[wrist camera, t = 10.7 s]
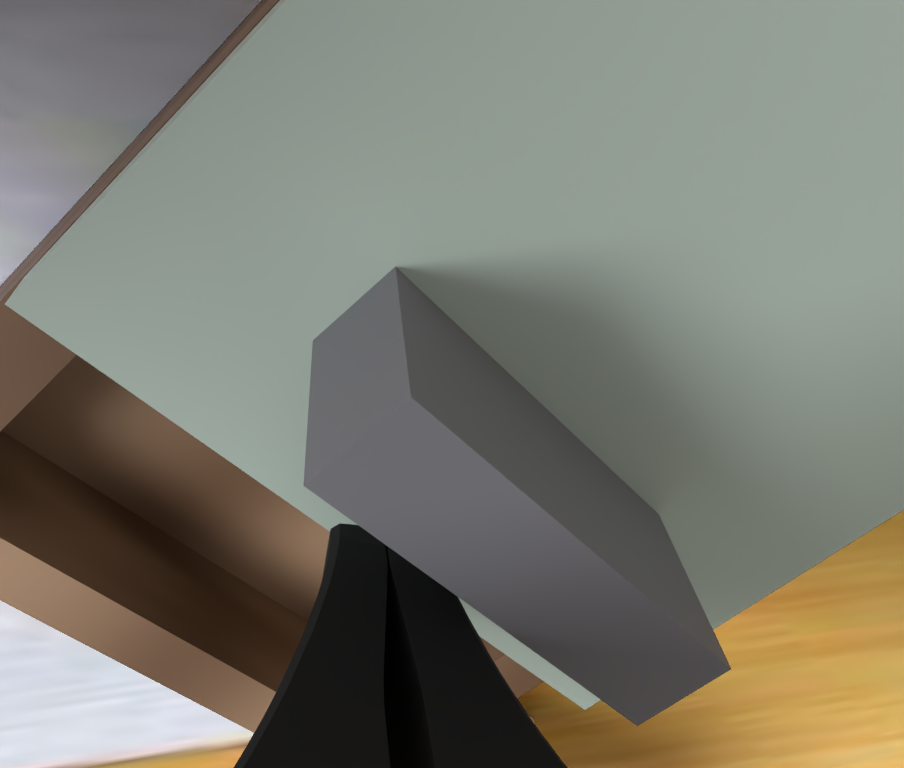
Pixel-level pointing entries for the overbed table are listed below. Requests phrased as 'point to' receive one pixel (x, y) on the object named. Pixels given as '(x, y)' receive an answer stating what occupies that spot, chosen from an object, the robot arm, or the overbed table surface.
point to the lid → (532, 302)
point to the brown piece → (149, 514)
